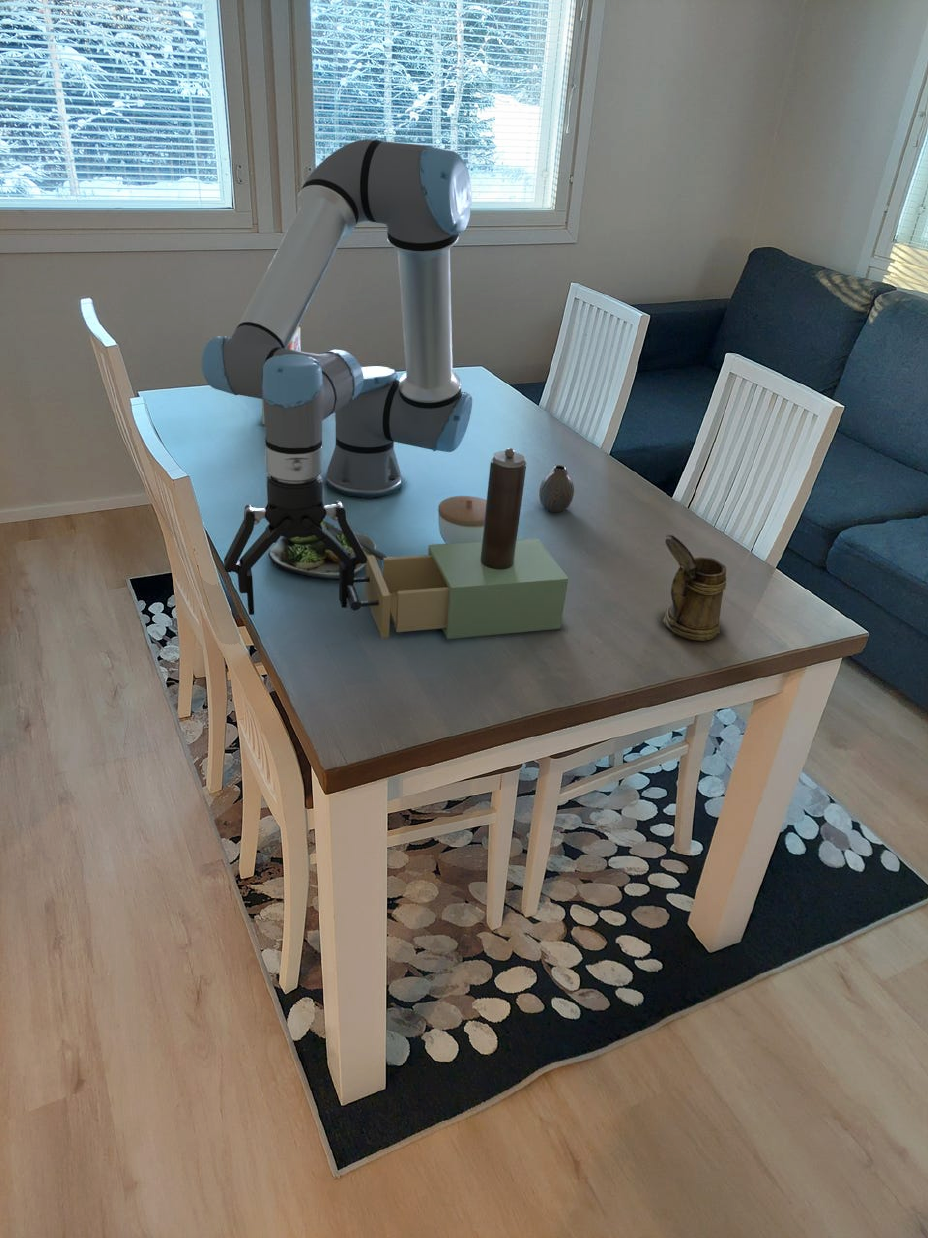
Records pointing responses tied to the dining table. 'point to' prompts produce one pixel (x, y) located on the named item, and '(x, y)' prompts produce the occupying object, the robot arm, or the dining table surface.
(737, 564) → the dining table surface
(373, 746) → the dining table surface
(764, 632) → the dining table surface
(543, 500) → the vase
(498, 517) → the pepper mill
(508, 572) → the cabinet
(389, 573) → the drawer
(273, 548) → the salad plate
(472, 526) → the trinket box
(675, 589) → the wooden mug
